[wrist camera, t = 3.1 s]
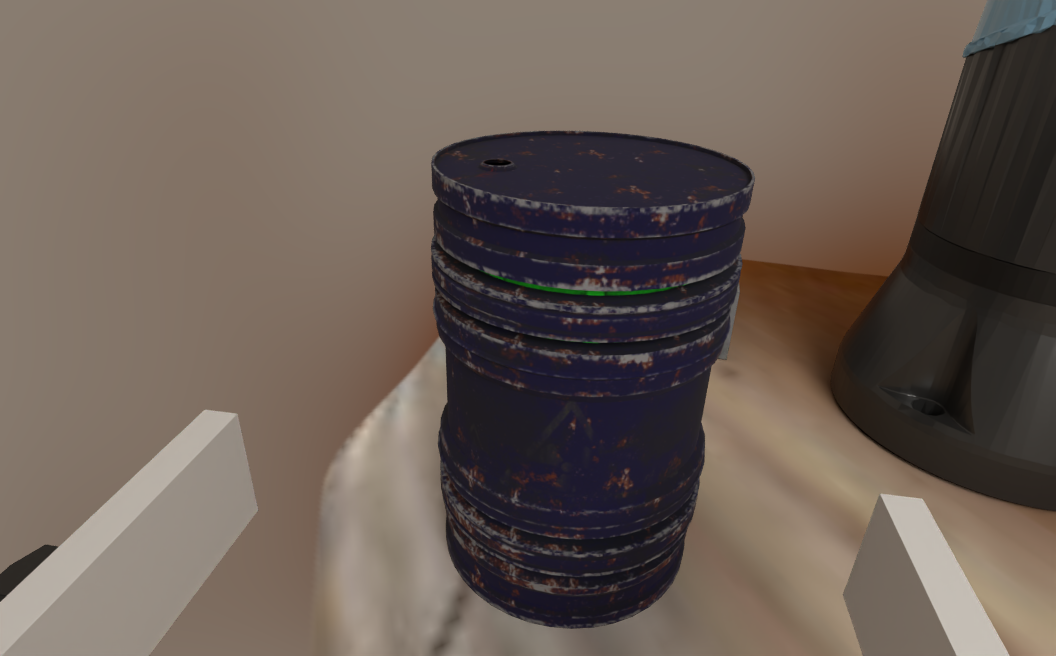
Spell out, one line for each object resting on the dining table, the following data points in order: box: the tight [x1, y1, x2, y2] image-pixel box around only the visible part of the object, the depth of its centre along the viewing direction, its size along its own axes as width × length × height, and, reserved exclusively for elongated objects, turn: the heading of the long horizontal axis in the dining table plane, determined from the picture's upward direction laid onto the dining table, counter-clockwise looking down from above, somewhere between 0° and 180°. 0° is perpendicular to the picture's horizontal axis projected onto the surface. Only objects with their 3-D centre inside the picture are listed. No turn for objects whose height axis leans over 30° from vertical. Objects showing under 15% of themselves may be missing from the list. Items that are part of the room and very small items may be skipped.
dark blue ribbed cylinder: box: [431, 131, 755, 629], centre depth 23 cm, size 10×10×15 cm
